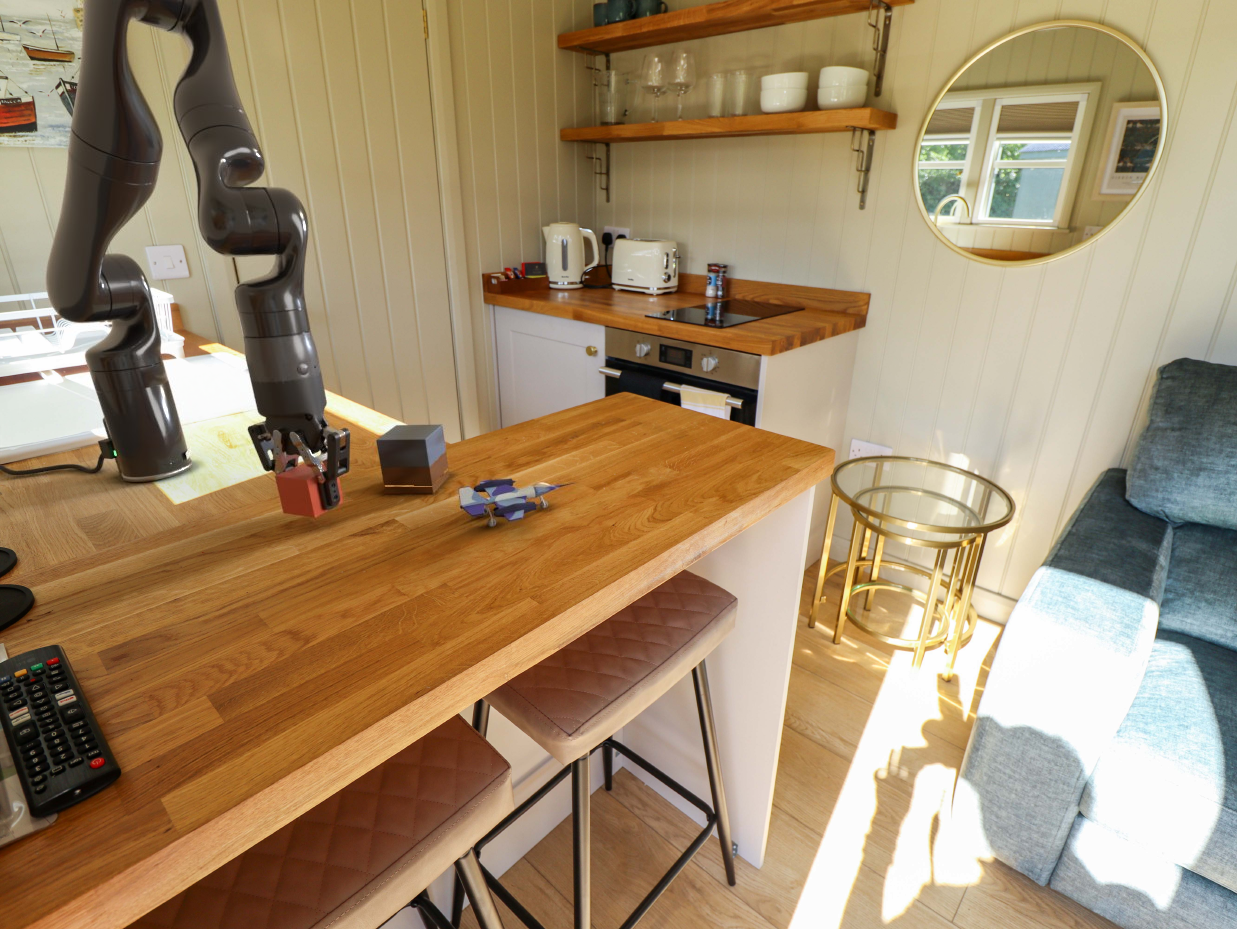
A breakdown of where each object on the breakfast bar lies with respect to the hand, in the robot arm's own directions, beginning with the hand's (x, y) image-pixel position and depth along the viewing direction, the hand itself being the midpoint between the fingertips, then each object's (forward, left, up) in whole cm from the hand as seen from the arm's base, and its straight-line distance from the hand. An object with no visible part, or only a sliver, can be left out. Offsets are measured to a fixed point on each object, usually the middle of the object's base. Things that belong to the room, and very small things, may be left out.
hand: (313, 504), depth 83 cm
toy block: (0, 0, 0) cm, 0 cm away
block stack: (+4, +15, -3) cm, 16 cm away
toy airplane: (+23, +9, -3) cm, 25 cm away
